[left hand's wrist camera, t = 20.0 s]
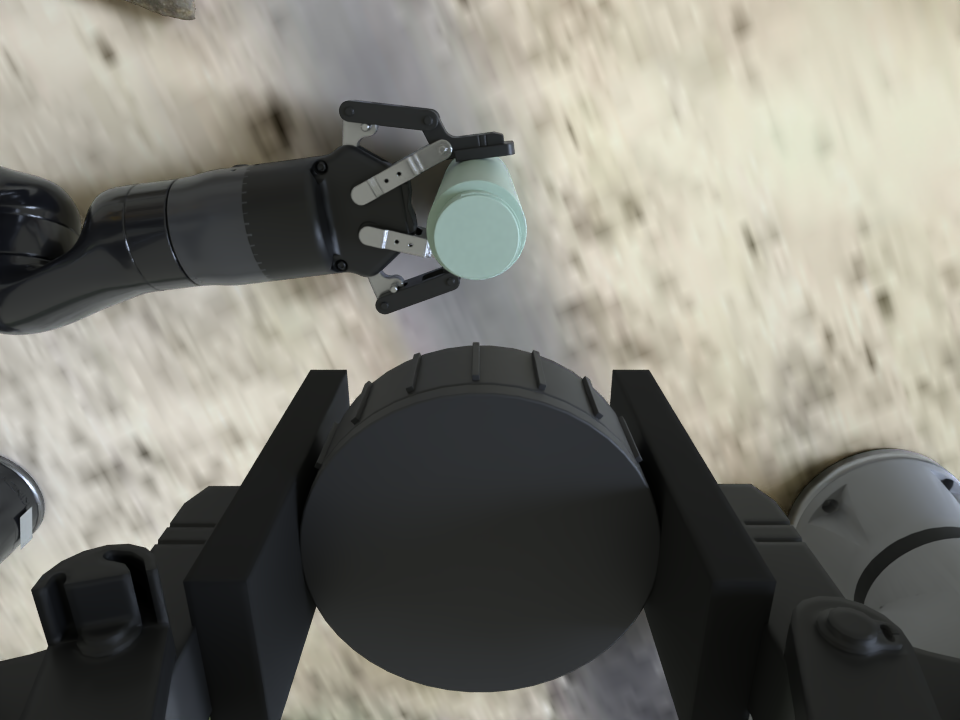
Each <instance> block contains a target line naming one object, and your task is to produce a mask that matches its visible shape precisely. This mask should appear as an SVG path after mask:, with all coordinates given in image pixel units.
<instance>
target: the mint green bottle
mask: <svg viewBox="0 0 960 720" xmlns="http://www.w3.org/2000/svg"><path fill="white" fill-rule="evenodd" d="M426 232H427V240H428V244H429V247H430V250H431V252H432V254H433V255H434V257H435V259H436V260H437V261H438V262H439V264H440V265H441V266H442V267H443V268H445V269H446V270H447V271H449V272H450V273H452V274H454V275H456V276H458V277H461V278H465V279H470V280H483V279H489V278H492V277H495V276H497V275H499V274H501V273H503V272H505V271H506V270H507V269H508V268H510V267H511V266H512V265H513V264H514V263H515V261H516V260H517V259H518V257H519V256H520V254H521V252H522V250H523V247H524V244H525V241H526V234H527V227H526V220H525V216H524V213H523V210H522V207H521V204H520V201H519V199H518V196H517V193H516V190H515V188H514V185H513V182H512V179H511V177H510V174H509V171H508V169H507V167H506V165H505V164H504V163H503V161H502V160H501V159H500V158H499V157H491V158H483V159H475V160H468V161H460V162H456V159H454V160H453V161H452V162H451V163H450V164H449V166H448V168H447V170H446V172H445V175H444V177H443V180H442V182H441V185H440V187H439V190H438V192H437V195H436V197H435V200H434V202H433V205H432V207H431V210H430V213H429V215H428V220H427V227H426Z"/></svg>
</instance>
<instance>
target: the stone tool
mask: <svg viewBox="0 0 960 720" xmlns="http://www.w3.org/2000/svg"><path fill="white" fill-rule="evenodd" d="M125 1H127V2H131V3H133V4H135V5H139V6H141V7H144V8H146V9H148V10H150V11H153V12H156V13H159V14H161V15H163V16H170V17H174V18H179V19H182V20H193V19H195V10H196V9H195V4H194V0H125Z"/></svg>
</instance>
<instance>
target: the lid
mask: <svg viewBox="0 0 960 720" xmlns="http://www.w3.org/2000/svg"><path fill="white" fill-rule="evenodd" d="M641 461H642V458H641V456H640V453H639V451H638V449H637V447H636V444H635V442H634V440H633V437H632V435H631V433H630V431H629V428H628V426H627V424H626V422H625V419H624V418H623V416H621V417H619V418H618V417H617V415H616V413H615V412H614V411H613V409H612V408H611V407H610V405H609V404H608V403H607V402H606V400H605V399H604V398H603V397H602V396H601V395H600V394H599V393H598V392H597V391H596V390H595V389H594V388H593V387H592V384H591V381H590V379H589V378H587V377H586V376H585V377H584V378H583V379H582V378H581V377H579V376H578V375H577V374H575V373H574V372H572V371H571V370H569V369H567V368H565V367H563V366H562V365H560V364H558V363H556V362H554V361H552V360H549V359H546V358H544V357H541V356H540V354H539V352H538V351H535V350H533V352H532V353H529V352H525V351H521V350H517V349H513V348H506V347H497V346H479V342H475V343H473V346H463V347H455V348H447V349H443V350H439V351H435V352H431V353H427V354H424V355H422V356H421V354H420V353H417V354H414V356H413V359H411V360H409V361H406V362H404V363H403V364H401V365H399V366H397V367H395V368H393V369H392V370H390V371H388V372H386V373H385V374H384V375H382V376H381V377H380V378H378V379H377V380H376V381H374V382H373V383H371V382H370V381H368V382H367V383H366V384H365V385H364V388H363V390H362V393H361V394H360V395H359V396H358V397H357V398H356V399H355V401H354V402H353V403H352V405H351V406H350V407H349V409H348V410H347V411H346V412H345V414H344V416H343V417H342V419H341V421H340V423H336V422H334V424H333V426H332V428H331V430H330V432H329V435H328V437H327V439H326V442H325V444H324V446H323V448H322V451H321V453H320V455H319V458H318V460H317V462H316V464H315V468H317V469H319V470H318V472H317V475H316V477H315V480H314V482H313V484H312V487H311V489H310V492H309V494H308V497H307V500H306V502H305V505H304V508H303V513H302V518H301V523H300V531H299V543H300V552H301V561H302V569H303V574H304V578H305V582H306V585H307V588H308V590H309V592H310V594H311V597H312V599H313V601H314V603H315V605H316V607H317V608H318V610H319V611H320V613H321V614H322V616H323V618H324V619H325V621H326V622H327V623H328V624H329V625H330V627H331V628H332V629H333V630H334V631H335V633H336V634H337V635H338V636H339V637H340V638H341V639H342V640H343V641H344V642H346V643H347V644H348V645H349V646H350V647H351V648H352V649H353V650H355V651H356V652H357V653H359V654H360V655H362V656H363V657H364V658H366V659H367V660H368V661H370V662H372V663H373V664H375V665H377V666H379V667H381V668H382V669H384V670H386V671H388V672H390V673H393V674H395V675H397V676H400V677H402V678H404V679H407V680H410V681H413V682H416V683H420V684H423V685H426V686H430V687H435V688H441V689H446V690H453V691H463V692H497V691H507V690H515V689H520V688H525V687H530V686H534V685H538V684H541V683H544V682H547V681H551V680H554V679H556V678H558V677H561V676H563V675H565V674H568V673H570V672H573V671H574V670H576V669H578V668H580V667H582V666H583V665H585V664H587V663H589V662H590V661H592V660H593V659H595V658H596V657H597V656H599V655H600V654H602V653H603V652H604V651H606V650H607V649H608V648H609V647H611V646H612V645H613V644H614V643H615V642H616V641H617V640H618V639H619V638H620V637H621V636H622V635H623V634H624V633H625V632H626V631H627V629H628V628H629V627H630V626H631V625H632V624H633V622H634V621H635V620H636V618H637V617H638V615H639V614H640V612H641V610H642V609H643V607H644V606H645V604H646V602H647V600H648V598H649V595H650V593H651V591H652V589H653V586H654V583H655V579H656V574H657V566H658V558H659V550H660V540H661V526H660V521H659V516H658V511H657V506H656V504H655V501H654V499H653V496H652V493H651V491H650V488H649V486H648V483H647V481H646V479H645V476H644V474H643V471H642V469H641V467H640V464H639V462H641Z"/></svg>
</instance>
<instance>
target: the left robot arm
mask: <svg viewBox="0 0 960 720" xmlns="http://www.w3.org/2000/svg"><path fill="white" fill-rule="evenodd" d="M349 407H350V404H349V392H348V379H347V370H310V372H309V373H308V375H307V377H306V378H305V380H304V382H303V383H302V385H301V387H300V388H299V390H298V392H297V393H296V395H295V397H294V398H293V400H292V402H291V403H290V405H289V407H288V408H287V410H286V411H285V413H284V415H283V416H282V418H281V420H280V421H279V423H278V425H277V426H276V428H275V430H274V431H273V433H272V435H271V436H270V438H269V440H268V441H267V443H266V445H265V446H264V448H263V450H262V451H261V453H260V455H259V456H258V458H257V460H256V461H255V463H254V464H253V466H252V468H251V469H250V471H249V473H248V474H247V476H246V478H245V479H244V481H243V483H242V484H241V486H208V487H207V488H205V489H204V490H203V491H201V492H200V493H198V494H197V495H196V496H194V497H193V498H191V499H190V500H188V501H187V502H186V503H184V505H183V506H182V507H181V509H180V510H179V512H178V513H177V514H176V516H175V517H174V519H173V520H172V521H171V523H170V527H167V528H166V530H165V531H164V533H163V534H162V535H161V537H160V538H159V540H158V544H155V545H154V547H153V548H152V549H151V551H149V550H148V549H147V548H144V547H140V546H136V545H132V544H117V545H106V546H102V547H98V548H94V549H90V550H86V551H83V552H81V553H79V554H76V555H74V556H72V557H70V558H68V559H66V560H63V561H61V562H60V563H58V564H57V565H56V566H54V567H53V568H52V569H50V570H49V571H47V572H46V573H45V574H43V575H42V577H41V578H40V579H39V580H38V582H37V583H36V584H35V586H34V587H33V588H32V589H31V591H32V595H33V598H34V601H35V604H36V608H37V611H38V614H39V617H40V621H41V624H42V627H43V630H44V634H45V637H46V640H47V643H48V648H47V650H44V651H40V652H37V653H34V654H30V655H26V656H21V657H17V658H13V659H8V660H4V661H0V720H208V719H209V717H210V718H211V720H281V717H282V713H283V710H284V707H285V704H286V701H287V698H288V694H289V691H290V688H291V685H292V682H293V679H294V675H295V672H296V669H297V666H298V663H299V660H300V656H301V653H302V650H303V647H304V644H305V641H306V637H307V634H308V631H309V628H310V625H311V622H312V618H313V615H314V612H315V609H316V605H315V603H314V601H313V599H312V597H311V594H310V592H309V590H308V588H307V585H306V582H305V578H304V574H303V569H302V561H301V552H300V543H299V531H300V523H301V518H302V513H303V508H304V505H305V502H306V500H307V497H308V494H309V492H310V489H311V487H312V484H313V482H314V480H315V477H316V475H317V472H318V470H319V469H317V468H315V464H316V462H317V460H318V458H319V455H320V453H321V451H322V448H323V446H324V444H325V442H326V439H327V437H328V435H329V432H330V430H331V428H332V426H333V424H334V422H336V423H340V421H341V419H342V417H343V416H344V414H345V412H346V411H347V410H348V409H349ZM610 407H611V408H612V409H613V411H614V412H615V413H616V415H617V417H618V418H619V417H621V416H623V418H624V419H625V422H626V424H627V426H628V428H629V431H630V433H631V435H632V437H633V440H634V442H635V444H636V447H637V449H638V451H639V453H640V456H641V458H642V461H641V462H639V464H640V467H641V469H642V471H643V474H644V476H645V479H646V481H647V483H648V486H649V488H650V491H651V493H652V496H653V499H654V501H655V504H656V506H657V511H658V516H659V521H660V526H661V540H660V550H659V558H658V566H657V574H656V579H655V583H654V586H653V589H652V591H651V593H650V595H649V598H648V600H647V602H646V604H645V606H644V610H645V613H646V617H647V620H648V623H649V626H650V629H651V632H652V636H653V639H654V642H655V645H656V648H657V651H658V655H659V658H660V661H661V664H662V667H663V670H664V674H665V677H666V680H667V683H668V686H669V689H670V693H671V696H672V699H673V702H674V705H675V708H676V712H677V715H678V718H679V720H960V482H959V481H958V480H957V479H956V478H955V477H954V476H953V475H952V474H951V473H950V472H948V471H947V470H946V469H945V468H943V467H942V466H941V465H940V464H938V463H937V462H936V461H934V460H932V459H931V458H929V457H927V456H924V455H922V454H919V453H916V452H912V451H908V450H901V449H880V450H873V451H868V452H863V453H860V454H856V455H853V456H851V457H848V458H846V459H843V460H841V461H839V462H837V463H835V464H834V465H832V466H830V467H829V468H827V469H826V470H824V471H823V472H821V473H820V474H819V475H818V476H816V477H815V478H814V479H813V480H812V481H811V482H810V483H809V484H808V485H807V486H806V487H805V488H804V489H803V490H802V492H801V493H800V494H799V496H798V497H797V499H796V500H795V502H794V504H793V506H792V508H791V510H790V512H789V515H788V518H787V516H786V515H785V514H784V512H783V511H782V509H781V508H780V507H779V505H778V504H777V502H776V501H775V500H773V499H772V498H770V497H769V496H767V495H766V494H765V493H763V492H762V491H760V490H759V489H757V488H756V487H755V486H753V485H752V484H718V483H717V482H716V480H715V478H714V477H713V475H712V474H711V472H710V470H709V469H708V467H707V465H706V464H705V462H704V460H703V459H702V457H701V455H700V454H699V452H698V450H697V449H696V447H695V445H694V444H693V442H692V440H691V439H690V437H689V435H688V434H687V432H686V430H685V429H684V427H683V425H682V424H681V422H680V421H679V419H678V417H677V416H676V414H675V412H674V411H673V409H672V407H671V406H670V404H669V402H668V401H667V399H666V397H665V396H664V394H663V392H662V391H661V389H660V387H659V386H658V384H657V382H656V381H655V379H654V377H653V376H652V374H651V372H650V371H649V370H613V374H612V386H611V399H610Z"/></svg>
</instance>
